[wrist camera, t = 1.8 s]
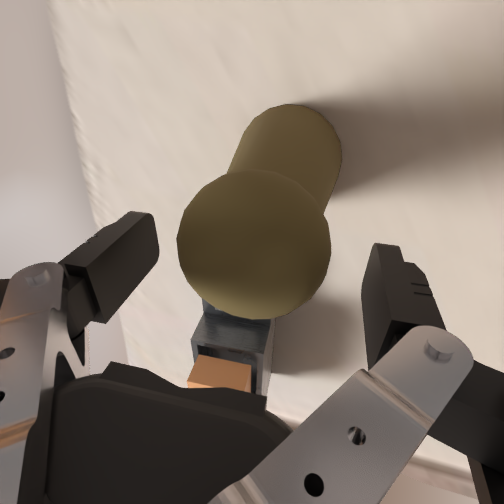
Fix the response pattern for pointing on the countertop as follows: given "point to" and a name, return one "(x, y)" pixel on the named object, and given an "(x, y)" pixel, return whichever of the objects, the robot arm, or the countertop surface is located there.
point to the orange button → (219, 374)
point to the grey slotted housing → (237, 343)
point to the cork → (265, 218)
